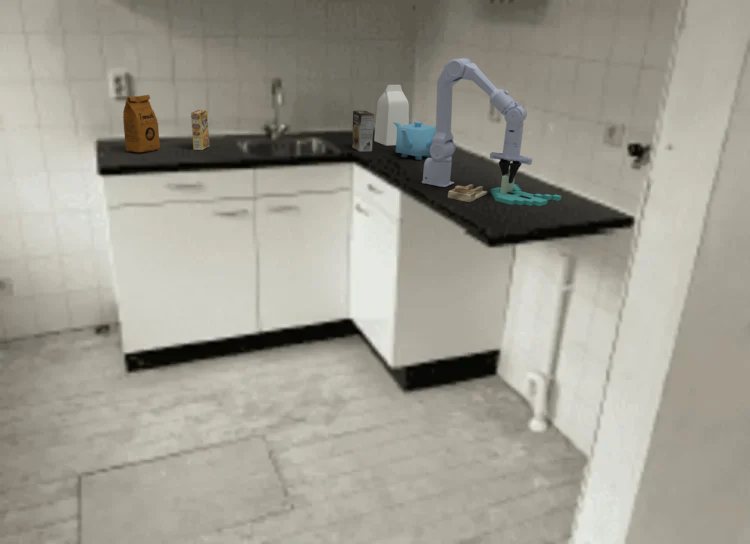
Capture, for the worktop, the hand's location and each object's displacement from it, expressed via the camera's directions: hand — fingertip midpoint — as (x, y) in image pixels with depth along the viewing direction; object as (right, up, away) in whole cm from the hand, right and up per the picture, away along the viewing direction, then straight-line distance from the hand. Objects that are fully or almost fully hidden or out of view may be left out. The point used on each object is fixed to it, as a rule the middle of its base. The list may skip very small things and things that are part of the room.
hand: (507, 182), depth 230 cm
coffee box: (-52, +23, +64) cm, 85 cm away
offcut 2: (-16, -5, -5) cm, 18 cm away
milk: (-38, +29, +82) cm, 95 cm away
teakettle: (-29, +18, +54) cm, 64 cm away
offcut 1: (-17, -4, -5) cm, 18 cm away
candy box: (-119, +21, +52) cm, 131 cm away
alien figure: (+4, -6, 0) cm, 8 cm away
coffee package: (-140, +18, +42) cm, 147 cm away
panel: (0, -3, +1) cm, 3 cm away
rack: (-14, -5, -1) cm, 15 cm away
